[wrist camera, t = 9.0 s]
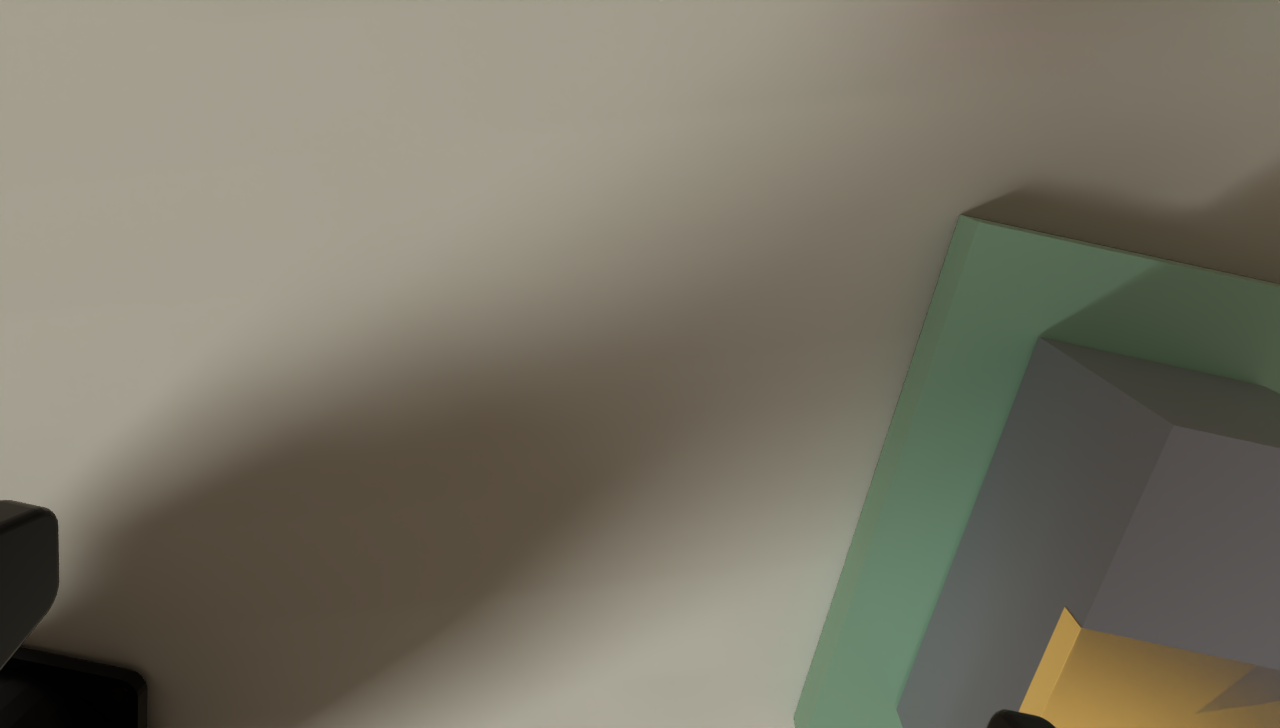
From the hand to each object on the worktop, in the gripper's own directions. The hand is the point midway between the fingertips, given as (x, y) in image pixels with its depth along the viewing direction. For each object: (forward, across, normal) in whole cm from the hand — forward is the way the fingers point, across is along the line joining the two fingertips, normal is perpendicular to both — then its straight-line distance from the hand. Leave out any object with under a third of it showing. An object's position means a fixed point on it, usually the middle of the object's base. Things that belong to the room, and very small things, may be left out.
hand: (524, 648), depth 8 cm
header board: (+12, -11, +3) cm, 17 cm away
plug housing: (+11, -11, +3) cm, 16 cm away
